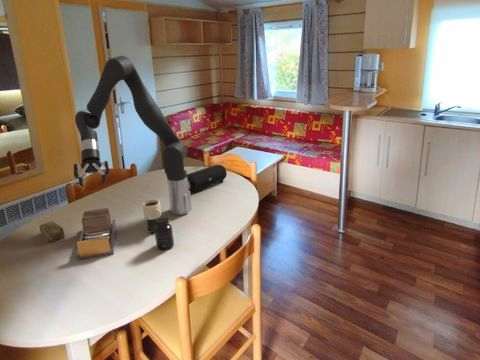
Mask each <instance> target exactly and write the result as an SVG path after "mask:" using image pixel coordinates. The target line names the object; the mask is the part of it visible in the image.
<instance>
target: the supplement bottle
mask: <svg viewBox="0 0 480 360" xmlns="http://www.w3.org/2000/svg"><path fill="white" fill-rule="evenodd" d="M153 233H154V237H155V238H154V239H155V245H156V248H157V249H158V250H160V251H168V250H171V249H172V248H174V245H175V241H174V240H175V239H174V234H173V227H172V225H171V224H170V222H169V218H168V217H166V216H160V217H159V218H158V219H156V226H155V228H154V232H153Z"/></svg>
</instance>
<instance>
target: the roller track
mask: <svg viewBox="0 0 480 360" xmlns="http://www.w3.org/2000/svg"><path fill="white" fill-rule="evenodd" d="M116 229H117V223H116V219H112V220H111V226H110V230H105V231H99V232H93V233H86V234H84V230H83V228H82V229H81V233H80V236H79V237H80V238H79V240H78V241H76V246H77V247H76V248H77V249H76V252H75V253H76V254H75V256H76V260H77V261H83V260H88V259H95V258H99V257H105V256H106V257H107V256H111V255H114V254H115V245H116V242H115V241H116V232H117V231H116Z"/></svg>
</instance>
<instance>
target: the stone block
mask: <svg viewBox="0 0 480 360" xmlns="http://www.w3.org/2000/svg"><path fill="white" fill-rule="evenodd" d="M39 230H40V234H41V235H43V237H45V238H46V239H48V240H49V241H50V242H56V241H58V240H62V239H63V238H65V236H66V235H65V232H64V231H65V230H64V229H63V227H61V226H60V225H59V224H57V223H56V221H53V220H52V221H51V220H50V221H48V222H45V223H42V224H39Z"/></svg>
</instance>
